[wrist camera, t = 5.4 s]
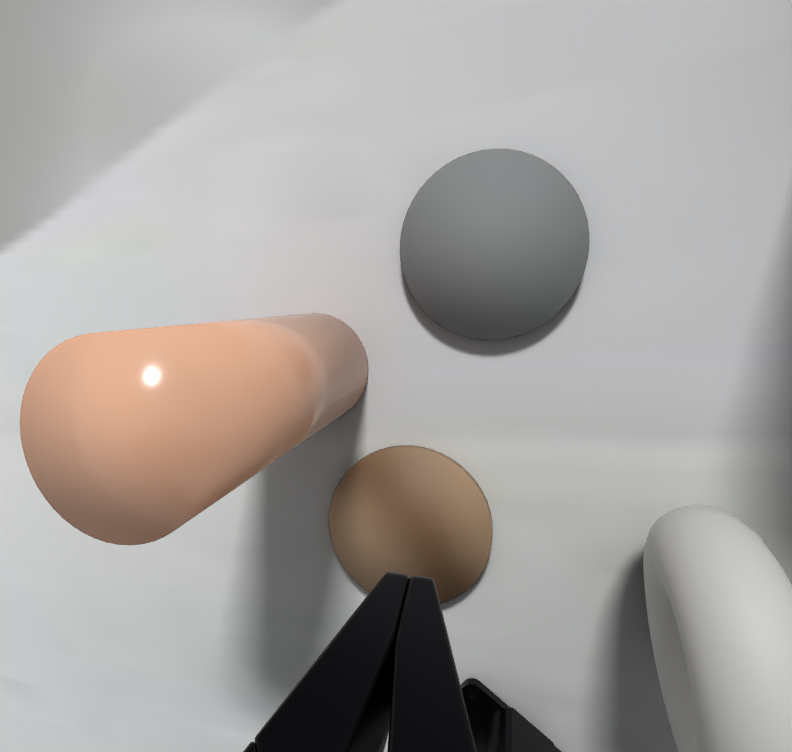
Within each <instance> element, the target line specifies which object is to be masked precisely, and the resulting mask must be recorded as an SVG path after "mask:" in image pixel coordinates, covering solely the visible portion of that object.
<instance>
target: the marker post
mask: <svg viewBox="0 0 792 752" xmlns="http://www.w3.org/2000/svg"><path fill="white" fill-rule="evenodd" d="M367 378H368V360H367V355H366V352H365V349H364V347H363V345H362V342H361V341H360V339H359V338H358V336H357V335H356V333H355V332H354V331H353V330H352V329H351V328H350V327H349V326H348V325H347V324H345V323H344V322H342V321H341V320H339V319H337V318H335V317H332V316H330V315H325V314H319V313H311V314H299V315H288V316H277V317H266V318H255V319H244V320H233V321H221V322H210V323H199V324H188V325H177V326H166V327H155V328H144V329H133V330H122V331H110V332H99V333H89V334H84V335H80V336H76V337H73V338H71V339H68V340H66V341H64V342H63V343H61V344H59V345H57V346H56V347H55V348H53V349H52V350H51V351H50V352H49V353H47V354H46V355H45V356H44V358H43V359H42V360H41V361H40V362H39V363H38V365H37V366H36V368H35V369H34V371H33V373H32V374H31V377H30V379H29V381H28V383H27V385H26V389H25V392H24V395H23V399H22V405H21V413H20V434H21V441H22V447H23V451H24V455H25V459H26V462H27V465H28V467H29V470H30V473H31V475H32V477H33V479H34V481H35V483H36V485H37V487H38V488H39V490H40V491H41V493H42V494H43V496H44V497H45V499H46V500H47V501H48V503H49V504H50V505H51V506H52V508H53V509H54V510H55V511H56V512H57V513H58V514H59V515H60V516H61V517H62V518H63V519H65V520H66V521H67V522H68V523H70V524H71V525H72V526H74V527H75V528H77V529H78V530H80V531H81V532H83V533H85V534H87V535H89V536H91V537H93V538H95V539H98V540H101V541H104V542H108V543H113V544H118V545H138V544H145V543H149V542H153V541H156V540H158V539H160V538H163V537H165V536H166V535H168V534H170V533H171V532H173V531H174V530H176V529H177V528H179V527H180V526H182V525H183V524H185V523H186V522H187V521H189V520H190V519H192V518H193V517H195V516H196V515H198V514H199V513H200V512H202V511H203V510H205V509H206V508H208V507H209V506H211V505H212V504H214V503H215V502H216V501H218V500H219V499H221V498H222V497H224V496H225V495H227V494H228V493H229V492H231V491H232V490H234V489H235V488H237V487H238V486H240V485H241V484H243V483H244V482H245V481H247V480H248V479H250V478H251V477H253V476H254V475H256V474H257V473H258V472H260V471H261V470H263V469H264V468H266V467H267V466H269V465H270V464H272V463H273V462H274V461H276V460H277V459H279V458H280V457H282V456H283V455H285V454H286V453H287V452H289V451H290V450H292V449H293V448H295V447H296V446H298V445H299V444H301V443H302V442H303V441H305V440H306V439H308V438H309V437H311V436H312V435H314V434H315V433H316V432H318V431H319V430H321V429H322V428H324V427H325V426H327V425H328V424H329V423H331V422H332V421H334V420H335V419H337V418H338V417H340V416H341V415H343V414H344V413H345V412H347V411H348V410H349V409H351V408H352V407H353V406H354V405H355V404H356V403H357V402H358V400H359V399H360V397H361V396H362V393H363V391H364V389H365V386H366V383H367Z"/></svg>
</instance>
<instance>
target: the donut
mask: <svg viewBox="0 0 792 752" xmlns="http://www.w3.org/2000/svg"><path fill="white" fill-rule="evenodd" d="M643 573H644V586H645V599H646V608H647V616H648V624H649V631H650V636H651V642H652V648H653V654H654V659H655V664H656V669H657V674H658V679H659V683H660V688H661V692H662V696H663V700H664V704H665V708H666V712H667V716H668V720H669V723H670V727H671V730H672V734H673V737H674V740H675V744H676V747H677V750H678V752H792V585H791V583H790V581H789V579H788V577H787V575H786V573H785V571H784V570H783V568H782V567H781V565H780V564H779V563H778V561H777V560H776V558H775V557H774V556H773V554H772V553H771V552H770V550H769V549H768V548H767V546H766V545H765V543H764V542H763V541H762V539H761V538H760V537H759V535H758V534H757V533H755V532H754V531H753V530H751V529H750V528H749V527H747V526H746V525H745V524H743V523H742V522H741V521H739V520H738V519H736V518H735V517H733V516H732V515H730V514H729V513H728V512H725V511H722V510H720V509H717V508H715V507H712V506H703V505H691V506H686V507H681V508H678V509H675V510H673V511H671V512H669V513H667V514H665V515H664V516H662V517H660V518H659V519H658V520H657V521H656V522H655V524H654V525H653V526H652V527H651V529H650V532H649V535H648V538H647V541H646V545H645V549H644V560H643Z"/></svg>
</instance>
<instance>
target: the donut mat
mask: <svg viewBox="0 0 792 752" xmlns="http://www.w3.org/2000/svg"><path fill="white" fill-rule="evenodd" d="M329 531H330V536H331V541H332V544H333V547H334V550H335V552H336V554H337V557H338V559H339V561H340V562H341V564H342V565H343V567H344V568H345V570H346V571H347V572H348V573H349V575H350V576H351V577H352V578H353V579H354V580H355V581H356V582H357V583H358V584H359V585H360V586H362V587H363V588H364V589H365V590H367V591H368V592H371V591H372V589H373V588H374V587H375V586H376V584H377V583H378V582H379V580H380V579H381V578H382V577H383V576H384V574H386V573H387V572H396V573H402V574H407V575H408V576H409V577H410V578H411V576H414V575H416V576H422V577H429V578H432V579H433V580H434V582H435V585H436V589H437V593H438V597H439V601H440V604H442V603H445V602H448V601H450V600H452V599H454V598H456V597H458V596H459V595H461V594H462V593H464V592H465V591H466V590H467V589H468V588H470V587H471V586H472V585H473V584H474V582H475V581H476V580H477V579H478V578H479V576H480V575H481V573H482V571H483V570H484V568H485V565H486V563H487V561H488V558H489V554H490V550H491V543H492V533H493V532H492V518H491V512H490V509H489V506H488V503H487V500H486V498H485V496H484V494H483V492H482V490H481V488H480V487H479V485H478V484H477V482H476V481H475V480H474V478H473V477H472V476H471V475H470V474H469V473H468V472H467V471H466V470H465V469H464V468H463V467H462V466H461V465H459V464H458V463H457V462H455V461H454V460H452V459H451V458H449V457H447V456H445V455H443V454H441V453H439V452H436V451H434V450H431V449H427V448H423V447H418V446H393V447H388V448H384V449H380V450H378V451H375V452H373V453H371V454H369V455H367V456H366V457H364V458H362V459H361V460H360V461H359V462H357V463H356V464H355V465H354V466H353V467H352V468H351V469H350V470H349V471H348V472H347V473H346V474H345V476H344V477H343V478H342V480H341V481H340V483H339V484H338V486H337V488H336V490H335V492H334V495H333V498H332V501H331V505H330V510H329Z"/></svg>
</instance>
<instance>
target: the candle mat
mask: <svg viewBox="0 0 792 752" xmlns="http://www.w3.org/2000/svg"><path fill="white" fill-rule="evenodd" d="M588 251H589V228H588V221H587V217H586V214H585V210H584V207H583V205H582V203H581V200H580V198H579V196H578V194H577V193H576V191H575V190H574V188H573V186H572V185H571V184H570V182H569V181H568V180H567V179H566V178H565V177H564V175H562V174H561V173H560V172H559V171H558V170H557V169H556V168H555V167H553V166H552V165H550V164H549V163H547V162H546V161H544V160H542V159H540V158H538V157H536V156H534V155H531V154H528V153H525V152H521V151H517V150H510V149H488V150H481V151H477V152H473V153H469V154H467V155H464V156H462V157H459V158H457V159H455V160H453V161H451V162H450V163H448V164H446V165H445V166H443V167H442V168H441V169H439V170H438V171H437V172H435V173H434V174H433V175H432V176H431V177H430V178H429V179H428V180H427V181H426V182H425V184H424V185H423V186H422V187H421V188H420V190H419V191H418V193H417V194H416V196H415V197H414V199H413V201H412V202H411V205H410V207H409V209H408V211H407V213H406V216H405V220H404V223H403V227H402V232H401V238H400V260H401V266H402V271H403V275H404V278H405V281H406V284H407V286H408V288H409V290H410V292H411V294H412V296H413V297H414V299H415V300H416V302H417V304H418V305H419V306H420V307H421V308H422V310H423V311H424V312H425V313H426V314H427V315H428V316H429V317H430V318H432V319H433V320H434V321H435V322H437V323H438V324H439V325H441V326H442V327H444V328H446V329H448V330H450V331H452V332H454V333H456V334H459V335H462V336H465V337H469V338H474V339H482V340H500V339H506V338H512V337H515V336H519V335H522V334H525V333H527V332H529V331H532V330H534V329H536V328H537V327H539V326H541V325H542V324H544V323H546V322H547V321H548V320H550V319H551V318H552V317H553V316H555V315H556V314H557V313H558V312H559V311H560V310H561V309H562V308H563V307H564V306H565V304H566V303H567V302H568V300H569V299H570V298H571V296H572V295H573V294H574V292H575V290H576V288H577V286H578V285H579V283H580V280H581V278H582V276H583V273H584V270H585V267H586V263H587V259H588Z"/></svg>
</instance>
